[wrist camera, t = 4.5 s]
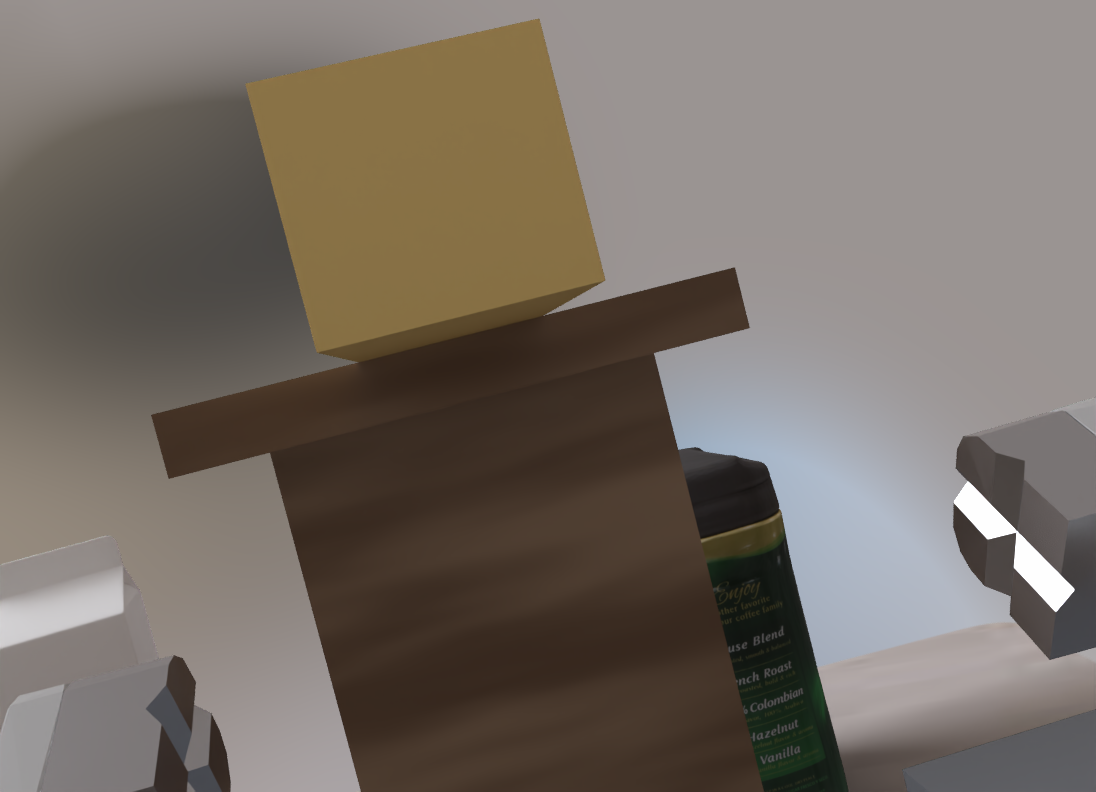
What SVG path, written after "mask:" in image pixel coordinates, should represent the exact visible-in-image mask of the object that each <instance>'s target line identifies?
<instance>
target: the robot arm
mask: <svg viewBox="0 0 1096 792" xmlns="http://www.w3.org/2000/svg"><path fill="white" fill-rule="evenodd" d="M956 469H957V470H958V471H959V472H960V473H961V475H963V477H964V478H966V480H967V481H968V482H967V484H966V485H965V487H964V488H963V490H962V491H961V492H960V494H959V495H958V497H957V498H956V500H955V501H954V516H953V517H954V519H953V520H954V521H953V528H954V531H955V534H956V538H957V541H958V545H959V548H960V552H961V553H962V555H963V557H964V559H965V560H966V562H967V564H968V566H969V568H970V569H971V571H972V572H973V573H974V574H975V575H976V576H977V578H978V579H979V580H980V581H981V582H982V584H983V585H984V586H986V587H989V588H991V589H994V590H996V591H999V592H1002V593H1004V594H1007V595H1009V596H1011V603H1010V615H1011V617H1012V618H1013V619H1014V620H1015V621H1016V622H1017V624H1018V625H1019V626H1020V627H1021V628H1022V629H1023V630H1024V631H1025V633H1026V634H1027V635H1028V636H1029V637H1030V638H1031V639H1032V640H1033V642H1034V643H1035V644H1036V645H1037V646H1038V647H1039V648H1040V649H1041V651H1042V652H1043V653H1044V654H1045V655H1046V656H1047V657H1048V658H1049V660H1051V659H1055V658H1059V657H1062V656H1066V655H1070V654H1073V653H1077V652H1080V651H1084V650H1088V649H1091V648H1095V647H1096V397H1094V398H1091V399H1088V400H1084V401H1081V402H1078V403H1074V404H1071V405H1068V406H1064V407H1061V408H1058V409H1054V410H1052V411H1051V412H1048V413H1044V414H1040V415H1037V416H1033V417H1030V418H1026V419H1023V420H1019V421H1016V422H1012V423H1008V424H1005V425H1002V426H998V427H995V428H991V429H987V430H984V431H980V432H977V433H973V434H970V435H967V436H963V438H962V440H961V442H960V444H959V447H958V449H957V459H956ZM195 685H196V682H195V680H194V678H193V676H192V674H191V673H190V671H189V669H188V667H187V665H186V663H185V661H184V660H183V658H180V657H177V656H175V655H174V656H170V657H166V658H162V659H158V660H154V661H150V662H146V663H142V664H138V665H134V666H130V667H126V668H122V669H118V670H114V671H110V672H107V673H103V674H99V675H95V676H91V677H87V678H83V679H79V680H75V681H72V682H71V683H68V684H63V685H59V686H55V687H51V688H47V689H43V690H40V691H36V692H32V693H28V694H24V695H20V696H18V697H17V698H16V700H15V701H14V702H13V703H12V704H11V705H10V706H9V708H8V710H7V713H6V716H5V720H4V723H3V726H2V730H1V733H0V792H230V783H231V782H230V775H229V767H228V760H227V753H226V749H225V746H224V743H223V740H222V737H221V733H220V730H219V728H218V726H217V724H216V722H215V720H214V718H213V716H212V714H211V713H210V712H208V711H206V710H203V709H202V708H199V707H197V706H195V705H194V698H195Z"/></svg>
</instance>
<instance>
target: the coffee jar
mask: <svg viewBox="0 0 1096 792" xmlns="http://www.w3.org/2000/svg"><path fill="white" fill-rule="evenodd" d="M678 451H679V455H680V459H681V463H682V467H683V471H684V475H685V479H686V483H687V487H688V491H689V495H690V499H691V503H692V507H693V511H694V515H695V519H696V523H697V527H698V531H699V535H700V539H701V543H702V547H703V551H704V555H705V559H706V563H707V567H708V571H709V575H710V579H711V583H712V587H713V591H714V595H715V599H716V603H717V607H718V611H719V615H720V619H721V623H722V627H723V631H724V635H725V639H726V643H727V647H728V650H729V654H730V658H731V662H732V666H733V670H734V674H735V678H736V682H737V686H738V690H739V694H740V698H741V702H742V706H743V710H744V714H745V718H746V722H747V726H748V730H749V734H750V738H751V742H752V746H753V750H754V754H755V758H756V762H757V766H758V770H759V774H760V778H761V782H762V786H763V790H764V792H848V786H847V782H846V777H845V773H844V769H843V765H842V761H841V757H840V753H839V749H838V745H837V742H836V738H835V734H834V730H833V726H832V722H831V719H830V715H829V711H828V707H827V704H826V700H825V696H824V692H823V688H822V684H821V681H820V677H819V673H818V669H817V666H816V661H815V657H814V653H813V648H812V644H811V641H810V637H809V633H808V628H807V624H806V620H805V617H804V613H803V609H802V605H801V601H800V597H799V593H798V588H797V584H796V580H795V576H794V572H793V569H792V564H791V559H790V555H789V550H788V545H787V539H786V534H785V529H784V523H783V518H782V513H781V510H780V509H779V503H778V500H777V497H776V493H775V490H774V487H773V484H772V480H771V478H770V474H769V471H768V468H767V466H766V465H765V464H764V463H762V462H759V461H753V460H749V459H743V458H739V457H737V456H731V455H722V454H715V453H709V452H704V451H703V450H701V449H700V448H696V447H694V448H687V449H681V450H678Z"/></svg>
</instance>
